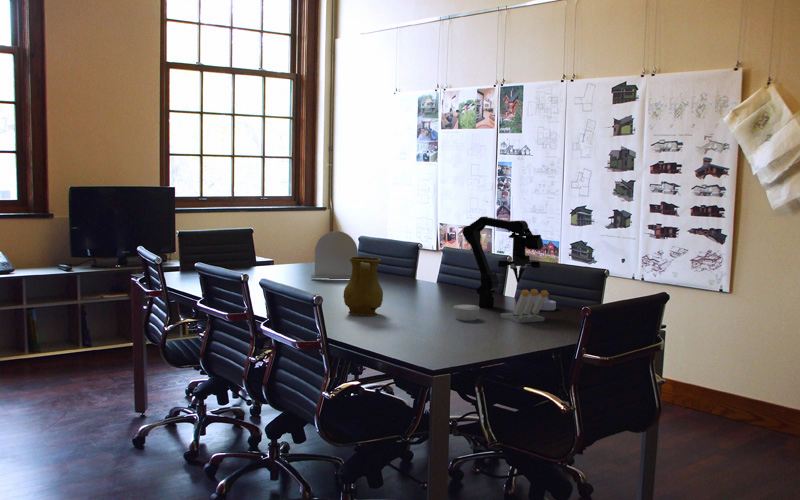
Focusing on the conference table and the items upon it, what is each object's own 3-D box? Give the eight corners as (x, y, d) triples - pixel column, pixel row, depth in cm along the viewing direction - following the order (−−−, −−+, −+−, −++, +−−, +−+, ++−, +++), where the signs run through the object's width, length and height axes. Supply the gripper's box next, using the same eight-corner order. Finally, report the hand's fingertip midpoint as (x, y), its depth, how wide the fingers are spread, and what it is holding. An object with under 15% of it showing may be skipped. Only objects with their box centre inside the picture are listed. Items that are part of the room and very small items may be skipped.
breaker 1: (512, 314, 321) (522, 289, 314) (517, 313, 322) (527, 289, 315) (514, 317, 320) (524, 292, 312) (519, 317, 321) (529, 292, 314)
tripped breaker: (529, 312, 325) (541, 290, 317) (534, 312, 326) (546, 290, 318) (532, 316, 324) (543, 293, 316) (537, 315, 325) (548, 293, 317)
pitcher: (390, 313, 332) (391, 256, 329) (368, 320, 315) (369, 260, 313) (356, 309, 340) (357, 253, 337) (334, 315, 323) (334, 257, 321)
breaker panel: (500, 316, 328) (500, 312, 328) (525, 314, 334) (525, 311, 334) (518, 322, 316) (519, 318, 316) (544, 320, 321) (544, 316, 321)
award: (359, 278, 436) (360, 230, 433) (361, 280, 427) (361, 232, 424) (311, 278, 432) (311, 230, 430) (311, 280, 424) (311, 231, 421)
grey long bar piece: (521, 313, 323) (531, 289, 316) (526, 313, 324) (536, 288, 317) (523, 316, 322) (533, 292, 314) (528, 316, 323) (538, 292, 316)
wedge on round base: (532, 310, 345) (558, 310, 348) (533, 296, 344) (559, 295, 347) (524, 307, 353) (550, 306, 356) (525, 293, 353) (551, 292, 356)
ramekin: (476, 322, 316) (476, 310, 315) (450, 320, 319) (450, 308, 318) (481, 317, 326) (482, 305, 326) (456, 315, 330) (456, 303, 329)
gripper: (499, 249, 333) (497, 284, 335) (541, 250, 332) (540, 285, 333) (498, 247, 344) (496, 280, 346) (539, 248, 343) (538, 282, 344)
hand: (517, 282), depth 342 cm, fingers closed
